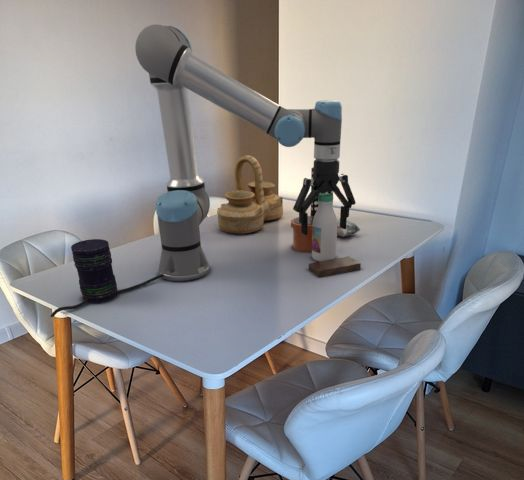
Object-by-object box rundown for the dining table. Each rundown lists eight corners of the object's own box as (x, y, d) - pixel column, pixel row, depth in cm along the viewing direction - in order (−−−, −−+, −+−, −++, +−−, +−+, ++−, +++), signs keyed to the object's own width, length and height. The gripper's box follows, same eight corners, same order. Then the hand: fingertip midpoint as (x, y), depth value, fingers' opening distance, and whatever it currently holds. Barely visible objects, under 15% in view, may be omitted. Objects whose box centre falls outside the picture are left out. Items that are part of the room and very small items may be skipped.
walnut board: (319, 277, 150) (319, 271, 149) (308, 269, 156) (308, 263, 155) (360, 269, 155) (360, 263, 154) (348, 262, 160) (348, 256, 159)
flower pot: (299, 254, 168) (299, 227, 163) (285, 244, 177) (285, 218, 172) (329, 249, 171) (330, 222, 167) (314, 239, 180) (314, 214, 176)
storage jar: (125, 295, 143) (115, 244, 136) (93, 307, 137) (81, 253, 130) (107, 286, 150) (97, 236, 142) (76, 296, 144) (64, 245, 136)
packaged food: (344, 241, 178) (345, 227, 175) (319, 234, 185) (320, 220, 183) (360, 235, 183) (361, 222, 180) (335, 229, 190) (336, 216, 188)
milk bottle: (335, 253, 167) (338, 191, 157) (336, 262, 161) (339, 197, 151) (312, 253, 168) (313, 191, 158) (311, 262, 161) (312, 197, 151)
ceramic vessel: (253, 238, 184) (250, 166, 171) (209, 233, 191) (203, 163, 179) (291, 214, 210) (290, 149, 197) (251, 210, 217) (248, 147, 205)
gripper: (293, 165, 142) (292, 239, 153) (370, 157, 150) (364, 228, 161) (282, 161, 148) (282, 232, 159) (356, 153, 156) (352, 222, 167)
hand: (323, 230), depth 160 cm, fingers open, 13 cm apart
